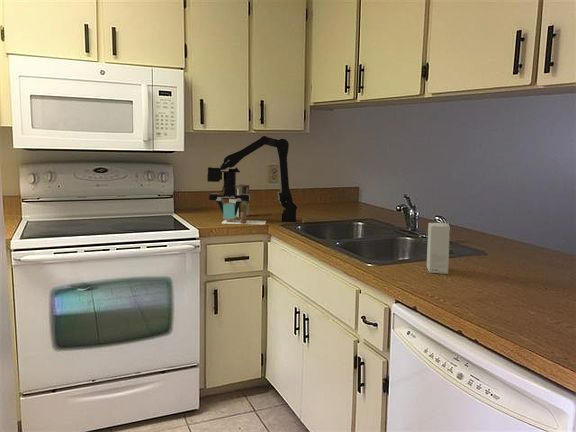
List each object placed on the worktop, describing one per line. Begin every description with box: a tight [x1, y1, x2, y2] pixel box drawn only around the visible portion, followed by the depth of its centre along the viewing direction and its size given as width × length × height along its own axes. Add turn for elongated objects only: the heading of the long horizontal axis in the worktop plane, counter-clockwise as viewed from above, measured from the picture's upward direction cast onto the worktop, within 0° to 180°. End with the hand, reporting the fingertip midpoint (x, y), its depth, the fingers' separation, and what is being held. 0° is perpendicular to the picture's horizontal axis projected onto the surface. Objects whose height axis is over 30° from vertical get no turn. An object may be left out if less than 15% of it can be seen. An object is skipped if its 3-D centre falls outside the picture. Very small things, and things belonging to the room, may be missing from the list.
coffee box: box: [228, 183, 250, 218], centre depth 253 cm, size 9×6×16 cm
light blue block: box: [222, 202, 237, 220], centre depth 235 cm, size 5×5×7 cm
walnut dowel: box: [240, 212, 247, 225], centre depth 231 cm, size 3×3×6 cm
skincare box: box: [426, 222, 451, 275], centre depth 157 cm, size 8×6×15 cm
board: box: [221, 219, 267, 226], centre depth 235 cm, size 20×10×1 cm, turn 88°
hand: (229, 215), depth 235 cm, fingers closed on light blue block, 5 cm apart
